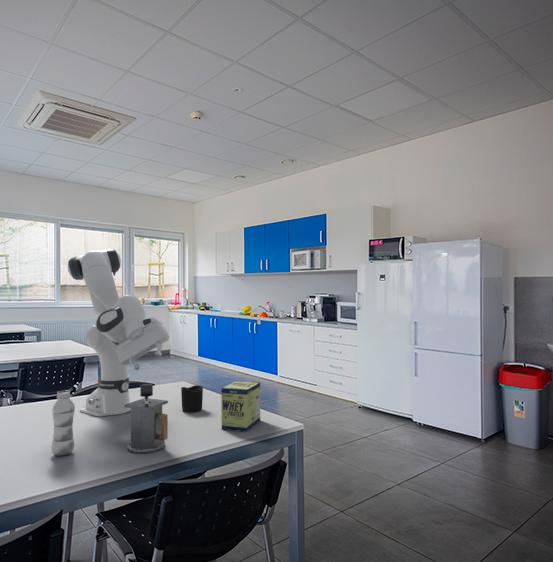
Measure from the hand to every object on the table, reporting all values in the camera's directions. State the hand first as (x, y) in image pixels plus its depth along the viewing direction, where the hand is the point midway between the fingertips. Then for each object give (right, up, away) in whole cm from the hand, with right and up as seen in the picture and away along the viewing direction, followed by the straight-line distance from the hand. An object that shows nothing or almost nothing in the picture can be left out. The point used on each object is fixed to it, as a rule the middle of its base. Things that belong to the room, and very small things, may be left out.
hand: (148, 362), depth 156 cm
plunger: (+3, -24, -12) cm, 27 cm away
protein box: (+33, -27, +12) cm, 44 cm away
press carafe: (+3, -26, -12) cm, 29 cm away
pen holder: (+9, -28, +34) cm, 45 cm away
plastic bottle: (-22, -26, -18) cm, 39 cm away
